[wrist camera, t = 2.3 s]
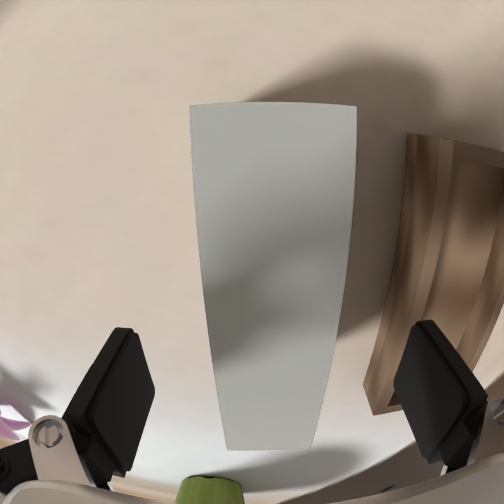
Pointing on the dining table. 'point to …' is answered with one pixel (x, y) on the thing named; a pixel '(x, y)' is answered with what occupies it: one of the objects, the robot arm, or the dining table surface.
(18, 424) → the lily
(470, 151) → the brown open box
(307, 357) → the pale grey block
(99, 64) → the dining table surface
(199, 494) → the plant pot
